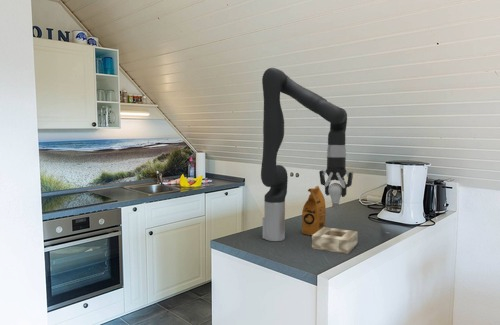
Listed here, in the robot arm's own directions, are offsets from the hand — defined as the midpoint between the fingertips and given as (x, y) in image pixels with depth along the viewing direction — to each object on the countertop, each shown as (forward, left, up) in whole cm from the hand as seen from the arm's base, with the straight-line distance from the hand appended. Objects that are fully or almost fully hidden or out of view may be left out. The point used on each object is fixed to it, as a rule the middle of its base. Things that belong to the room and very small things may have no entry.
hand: (335, 195), depth 153 cm
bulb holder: (0, 0, -22) cm, 22 cm away
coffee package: (-15, +15, -22) cm, 31 cm away
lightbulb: (0, 0, -6) cm, 6 cm away
